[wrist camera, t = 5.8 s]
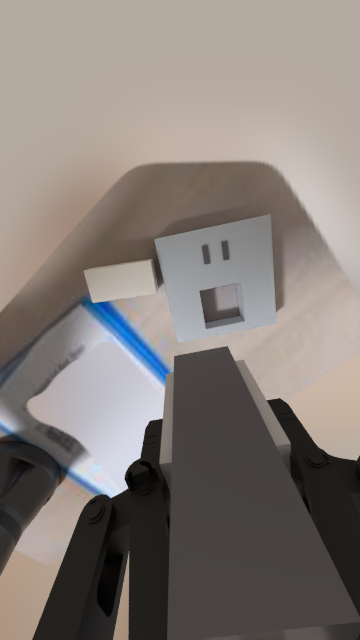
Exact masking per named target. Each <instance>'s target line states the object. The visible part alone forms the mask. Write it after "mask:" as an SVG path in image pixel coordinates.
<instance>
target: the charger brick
mask: <svg viewBox="0 0 360 640" xmlns="http://www.w3.org/2000/svg"><path fill="white" fill-rule="evenodd" d="M359 634H360V616H359V614H358V612H357V610H356V608H355V606H354V604H353V602H352V600H351V598H350V596H349V594H348V592H347V590H346V588H345V586H344V584H343V582H342V580H341V578H340V575H339V573H338V571H337V569H336V567H335V565H334V563H333V561H332V559H331V557H330V555H329V553H328V551H327V549H326V547H325V545H324V543H323V541H322V539H321V537H320V535H319V533H318V530H317V528H316V526H315V524H314V522H313V520H312V518H311V516H310V514H309V512H308V510H307V508H306V506H305V504H304V502H303V500H302V498H301V496H300V494H299V492H298V490H297V488H296V485H295V483H294V481H293V479H292V477H291V475H290V473H289V471H288V469H287V467H286V465H285V463H284V461H283V459H282V457H281V455H280V453H279V451H278V449H277V447H276V445H275V443H274V440H273V438H272V436H271V434H270V432H269V430H268V428H267V426H266V424H265V422H264V420H263V418H262V416H261V414H260V412H259V410H258V408H257V406H256V404H255V402H254V400H253V398H252V395H251V393H250V391H249V389H248V387H247V385H246V383H245V381H244V379H243V377H242V375H241V373H240V371H239V369H238V367H237V365H236V363H235V361H234V359H233V357H232V355H231V353H230V350H229V348H228V346H226V347H221V348H215V349H210V350H205V351H199V352H194V353H189V354H183V355H178V356H174V387H173V427H172V467H171V507H170V546H169V586H168V626H167V640H356V638H359Z"/></svg>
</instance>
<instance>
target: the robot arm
mask: <svg viewBox="0 0 360 640" xmlns="http://www.w3.org/2000/svg"><path fill="white" fill-rule="evenodd" d="M235 363H236V365H237V367H238V369H239V371H240V373H241V375H242V377H243V379H244V381H245V383H246V385H247V387H248V389H249V391H250V393H251V395H252V398H253V400H254V402H255V404H256V406H257V408H258V410H259V412H260V414H261V416H262V418H263V420H264V422H265V424H266V426H267V428H268V430H269V432H270V434H271V436H272V438H273V440H274V443H275V445H276V447H277V449H278V451H279V453H280V455H281V457H282V459H283V461H284V463H285V465H286V467H287V469H288V471H289V473H290V475H291V477H292V479H293V481H294V483H295V485H296V488H297V490H298V492H299V494H300V496H301V498H302V500H303V502H304V504H305V506H306V508H307V510H308V512H309V514H310V516H311V518H312V520H313V522H314V524H315V526H316V528H317V530H318V533H319V535H320V537H321V539H322V541H323V543H324V545H325V547H326V549H327V551H328V553H329V555H330V557H331V559H332V561H333V563H334V565H335V567H336V569H337V571H338V573H339V575H340V578H341V580H342V582H343V584H344V586H345V588H346V590H347V592H348V594H349V596H350V598H351V600H352V602H353V604H354V606H355V608H356V610H357V612H358V614H359V616H360V456H359V458H358V460H357V461H355V460H348V459H341V458H337V457H333V456H331V455H329V454H327V453H326V452H325V451H324V450H322V449H320V448H319V447H318V446H317V445H316V444H315V443H314V441H313V440H312V438H311V437H310V435H309V434H308V433H307V431H306V430H305V428H304V427H303V425H302V424H301V422H300V421H299V420H298V418H297V417H296V415H295V414H294V413H293V411H292V409H291V408H290V406H289V405H288V404H287V403H286V402H284V401H283V400H282V399H280V398H278V399H272V400H266V399H265V397H264V395H263V394H262V392H261V390H260V388H259V387H258V385H257V383H256V381H255V379H254V378H253V376H252V374H251V372H250V371H249V369H248V367H247V365H246V364H245V362H244V360H239V361H235ZM173 387H174V373H169V374H167V375H166V387H165V400H164V413H163V419H159V420H153V421H150V422H149V424H148V425H147V427H146V429H145V435H144V441H143V446H142V452H141V458H140V459H138V460H136V461H135V462H133V463H132V464H131V465H130V466H129V468H128V470H127V471H126V474H125V481H126V483H127V486H128V489H127V490H125V491H124V492H122V493H120V494H118V495H116V496H115V497H113V498H110V497H108V496H107V495H103V494H101V495H98V496H95V497H94V498H93V499H91V500H90V501H89V502H88V503H87V504H86V505H85V507H84V508H83V510H82V512H81V514H80V517H79V519H78V522H77V525H76V527H75V530H74V532H73V535H72V538H71V540H70V543H69V545H68V548H67V551H66V553H65V556H64V558H63V562H62V564H61V566H60V569H59V571H58V574H57V577H56V580H55V582H54V585H53V587H52V590H51V592H50V595H49V598H48V600H47V603H46V605H45V608H44V611H43V613H42V616H41V618H40V621H39V624H38V626H37V629H36V631H35V634H34V637H33V639H32V640H113V635H114V630H115V624H116V619H117V614H118V608H119V603H120V597H121V592H122V586H123V581H124V575H125V570H126V564H127V558H128V553H129V640H167V626H168V586H169V546H170V507H171V467H172V427H173ZM59 481H60V470H59V467H58V465H57V463H56V462H55V461H54V459H53V458H52V457H51V456H49V455H48V454H47V453H46V452H44V451H42V450H41V449H39V448H36V447H34V446H31V445H28V444H24V443H18V442H3V443H0V575H1V574H2V572H3V570H4V568H5V566H6V564H7V562H8V560H9V558H10V556H11V554H12V552H13V550H14V548H15V546H16V544H17V542H18V541H19V539H20V537H21V535H22V533H23V531H24V530H25V529H26V528H27V526H28V525H29V524H30V523H31V521H32V520H33V519H34V518H35V516H36V515H37V514H38V512H39V511H40V509H41V508H42V506H44V505H45V504H46V503H47V502H48V501H49V500H50V499H51V497H52V496H53V494H54V492H55V490H56V488H57V486H58V484H59ZM129 551H130V552H129ZM356 640H360V634H359V638H356Z"/></svg>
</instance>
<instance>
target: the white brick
mask: <svg viewBox="0 0 360 640" xmlns="http://www.w3.org/2000/svg"><path fill="white" fill-rule="evenodd" d="M83 272H84V275H85V279H86V282H87V286H88V289H89V292H90V296H91V299H92V303H97V302H104V301H111V300H117V299H124V298H131V297H138V296H144V295H151V294H157V290H158V284H157V278H156V272H155V267H154V261H153V259H147V260H140V261H134V262H127V263H120V264H114V265H107V266H100V267H94V268H90V269H87V270H83Z"/></svg>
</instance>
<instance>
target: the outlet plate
mask: <svg viewBox="0 0 360 640" xmlns="http://www.w3.org/2000/svg"><path fill="white" fill-rule="evenodd" d="M154 241H155V246H156V250H157V254H158V259H159V263H160V268H161V272H162V276H163V281H164V285H165V290H166V294H167V298H168V303H169V307H170V311H171V316H172V320H173V325H174V329H175V333H176V338H177V342H178V343H181V342H186V341H192V340H197V339H202V338H207V337H212V336H217V335H222V334H227V333H232V332H237V331H242V330H247V329H252V328H257V327H262V326H267V325H272V324H276V307H275V287H274V267H273V247H272V228H271V214H268V215H263V216H259V217H254V218H249V219H245V220H240V221H236V222H231V223H226V224H222V225H217V226H212V227H208V228H203V229H199V230H194V231H189V232H185V233H180V234H175V235H171V236H166V237H162V238H157V239H154ZM235 283H236V287H237V296H238V305H239V314H240V316H236V317H231V318H226V319H221V320H216V321H211V322H206V323H205V321H204V315H203V309H202V304H201V298H200V292H199V291H201V290H206V289H211V288H215V287H220V286H225V285H230V284H235Z"/></svg>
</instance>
